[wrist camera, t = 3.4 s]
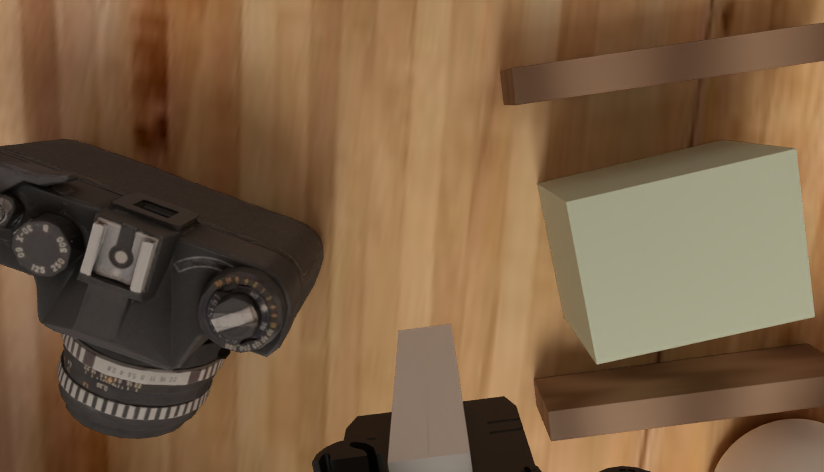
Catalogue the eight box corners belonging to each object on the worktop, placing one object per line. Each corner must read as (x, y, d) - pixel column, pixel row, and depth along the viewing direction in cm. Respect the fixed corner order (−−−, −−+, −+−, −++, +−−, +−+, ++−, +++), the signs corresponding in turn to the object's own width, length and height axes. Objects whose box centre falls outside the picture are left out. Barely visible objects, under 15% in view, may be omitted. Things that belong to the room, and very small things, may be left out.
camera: (5, 323, 32) (-173, 419, 22) (53, 117, 30) (-122, 124, 20) (274, 409, 33) (216, 537, 23) (339, 216, 31) (305, 268, 21)
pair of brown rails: (536, 405, 33) (551, 441, 29) (500, 72, 29) (512, 68, 26) (808, 370, 32) (854, 402, 29) (803, 28, 29) (856, 17, 25)
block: (563, 316, 32) (596, 364, 26) (536, 182, 30) (566, 202, 25) (739, 276, 31) (814, 316, 26) (721, 139, 30) (796, 148, 24)
